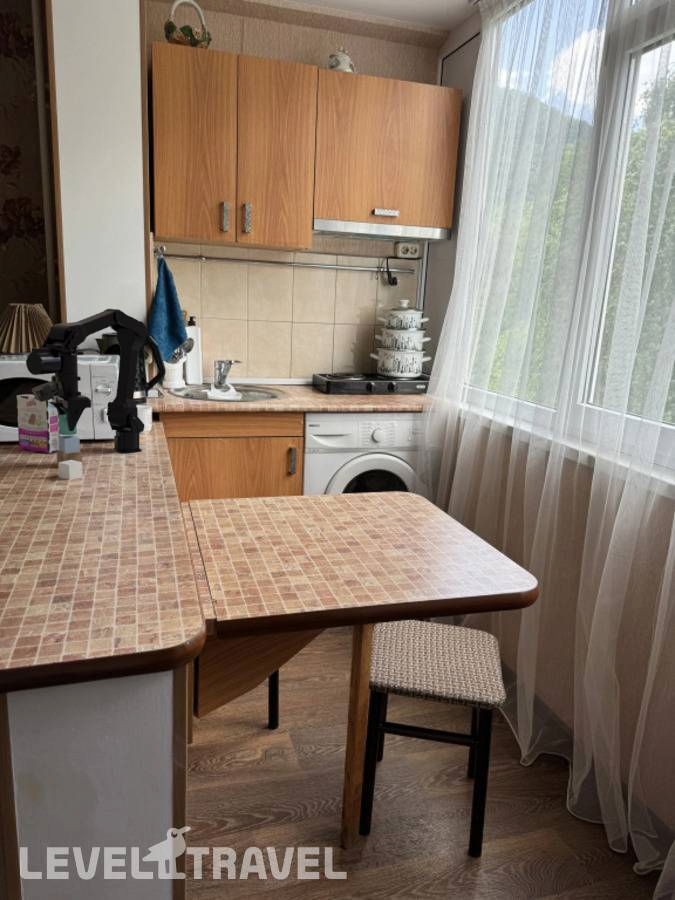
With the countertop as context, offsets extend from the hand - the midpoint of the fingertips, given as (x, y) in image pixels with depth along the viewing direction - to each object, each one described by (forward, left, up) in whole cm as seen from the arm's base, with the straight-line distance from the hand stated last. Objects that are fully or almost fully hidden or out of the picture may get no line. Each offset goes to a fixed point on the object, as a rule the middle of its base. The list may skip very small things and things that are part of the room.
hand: (68, 429), depth 175 cm
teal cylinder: (0, 0, -1) cm, 1 cm away
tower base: (0, 0, -10) cm, 10 cm away
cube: (+4, +12, -10) cm, 16 cm away
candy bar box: (+1, -21, -10) cm, 23 cm away
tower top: (0, 0, -6) cm, 6 cm away
